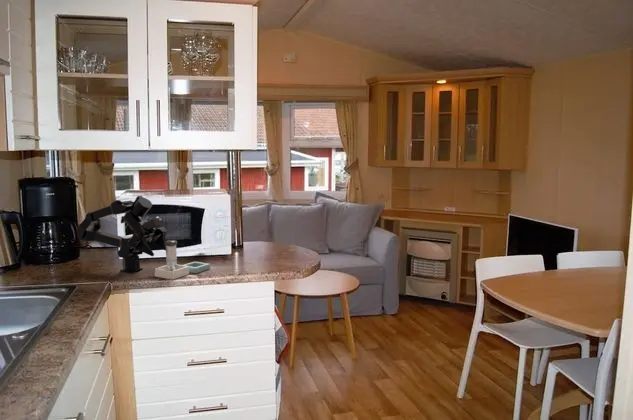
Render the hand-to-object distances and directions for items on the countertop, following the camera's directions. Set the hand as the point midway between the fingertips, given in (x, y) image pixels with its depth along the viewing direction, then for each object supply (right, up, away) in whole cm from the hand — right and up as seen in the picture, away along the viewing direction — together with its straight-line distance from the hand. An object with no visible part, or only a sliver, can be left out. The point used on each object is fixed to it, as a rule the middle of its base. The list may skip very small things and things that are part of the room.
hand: (160, 253), depth 206 cm
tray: (+5, -9, -1) cm, 10 cm away
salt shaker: (+5, -8, -1) cm, 9 cm away
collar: (+12, -7, +8) cm, 16 cm away
